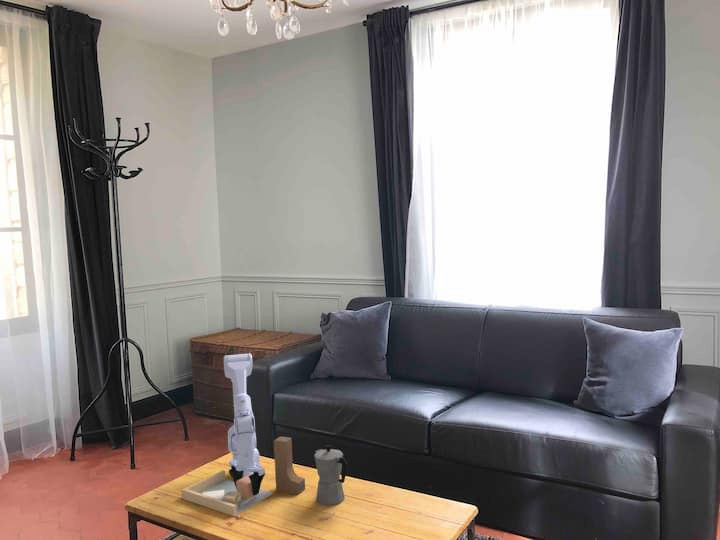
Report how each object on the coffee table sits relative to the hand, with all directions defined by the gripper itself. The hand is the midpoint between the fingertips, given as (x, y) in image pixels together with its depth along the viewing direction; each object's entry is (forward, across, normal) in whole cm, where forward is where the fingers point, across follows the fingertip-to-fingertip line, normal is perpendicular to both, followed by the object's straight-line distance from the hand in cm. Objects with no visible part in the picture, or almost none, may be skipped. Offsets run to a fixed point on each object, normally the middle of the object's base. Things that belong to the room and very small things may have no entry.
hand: (247, 491), depth 196 cm
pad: (+1, -10, -6) cm, 12 cm away
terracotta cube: (+1, 0, 0) cm, 1 cm away
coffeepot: (+2, +26, +12) cm, 29 cm away
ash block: (+1, +2, -9) cm, 9 cm away
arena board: (+2, -5, -4) cm, 7 cm away
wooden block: (+2, +10, +10) cm, 14 cm away
